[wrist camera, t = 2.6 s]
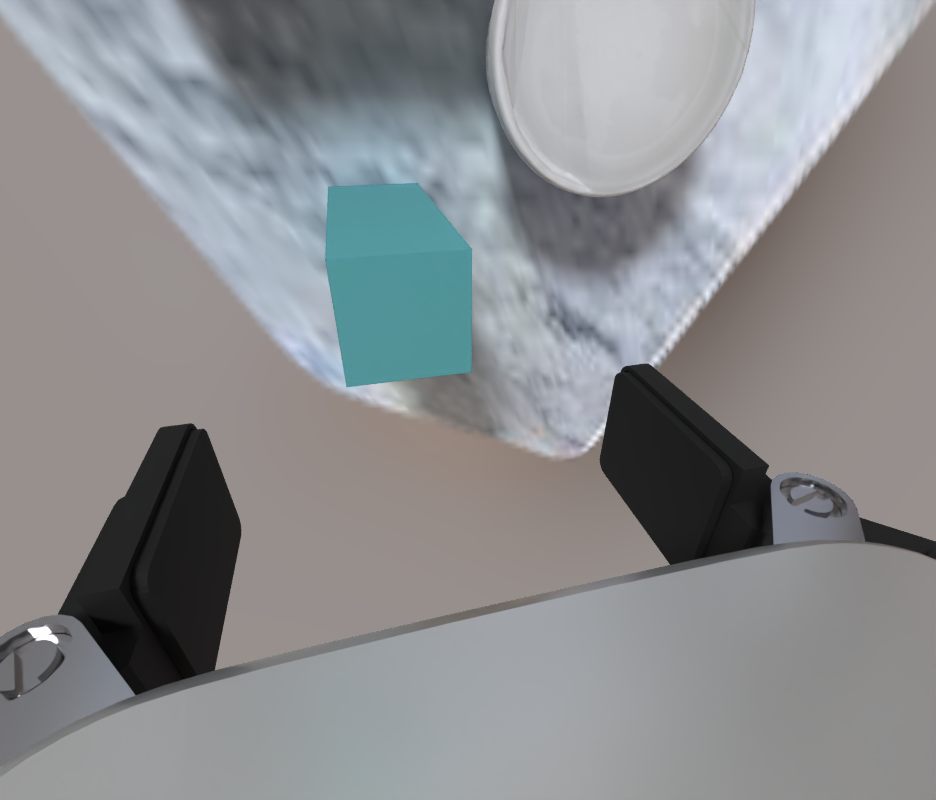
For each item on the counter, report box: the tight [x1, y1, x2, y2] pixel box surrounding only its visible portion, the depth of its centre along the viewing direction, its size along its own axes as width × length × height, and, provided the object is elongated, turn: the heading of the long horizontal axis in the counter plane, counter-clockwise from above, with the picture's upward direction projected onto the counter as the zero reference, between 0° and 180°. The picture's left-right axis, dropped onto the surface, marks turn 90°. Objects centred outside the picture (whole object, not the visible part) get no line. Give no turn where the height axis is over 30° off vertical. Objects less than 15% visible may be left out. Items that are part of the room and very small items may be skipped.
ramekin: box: [485, 0, 756, 197], centre depth 21 cm, size 11×11×5 cm
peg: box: [325, 183, 472, 387], centre depth 21 cm, size 4×4×12 cm
